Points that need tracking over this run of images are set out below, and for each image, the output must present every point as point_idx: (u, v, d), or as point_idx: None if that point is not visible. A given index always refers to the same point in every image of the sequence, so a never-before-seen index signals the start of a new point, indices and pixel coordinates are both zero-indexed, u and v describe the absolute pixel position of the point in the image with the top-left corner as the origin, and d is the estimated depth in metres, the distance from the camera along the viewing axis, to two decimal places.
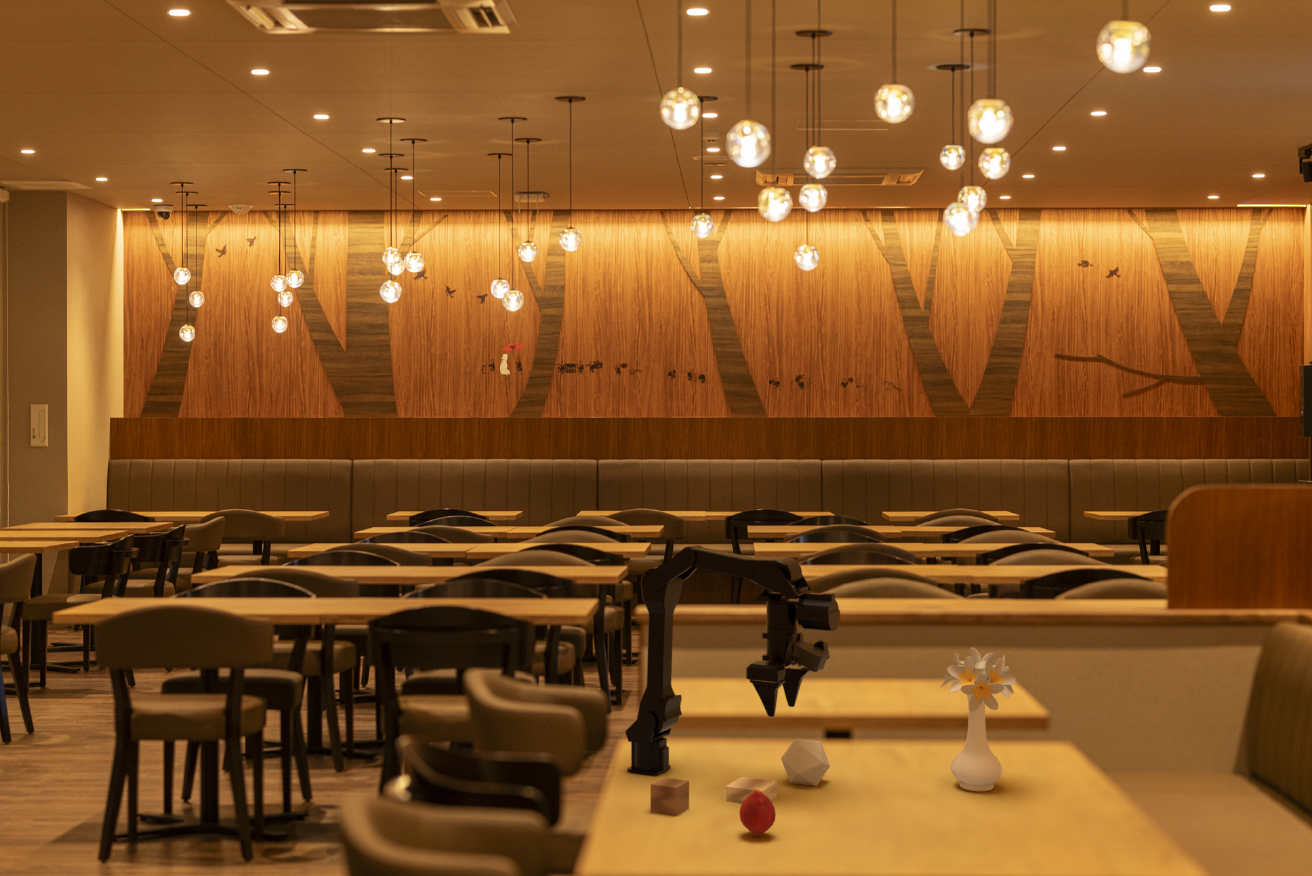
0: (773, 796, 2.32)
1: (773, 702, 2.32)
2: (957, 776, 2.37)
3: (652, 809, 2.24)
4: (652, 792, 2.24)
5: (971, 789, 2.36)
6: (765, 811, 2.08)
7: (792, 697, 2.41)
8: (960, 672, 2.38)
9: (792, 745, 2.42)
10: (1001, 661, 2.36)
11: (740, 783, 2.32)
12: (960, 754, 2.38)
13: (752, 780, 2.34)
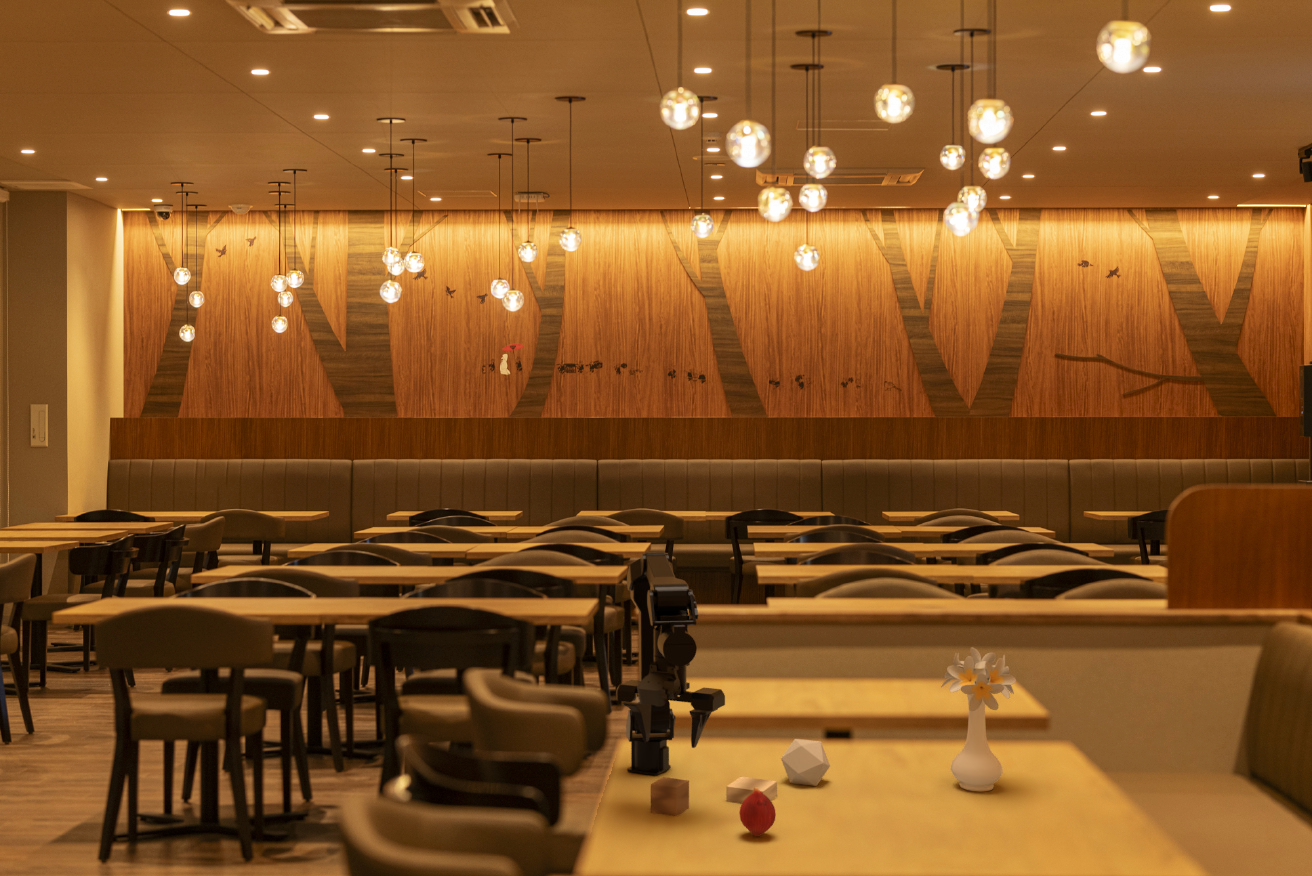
0: (773, 796, 2.32)
1: (640, 725, 2.26)
2: (957, 776, 2.37)
3: (652, 809, 2.24)
4: (652, 792, 2.24)
5: (971, 789, 2.36)
6: (765, 811, 2.08)
7: None
8: (960, 672, 2.38)
9: (792, 745, 2.42)
10: (1001, 661, 2.36)
11: (740, 783, 2.32)
12: (960, 754, 2.38)
13: (751, 780, 2.34)
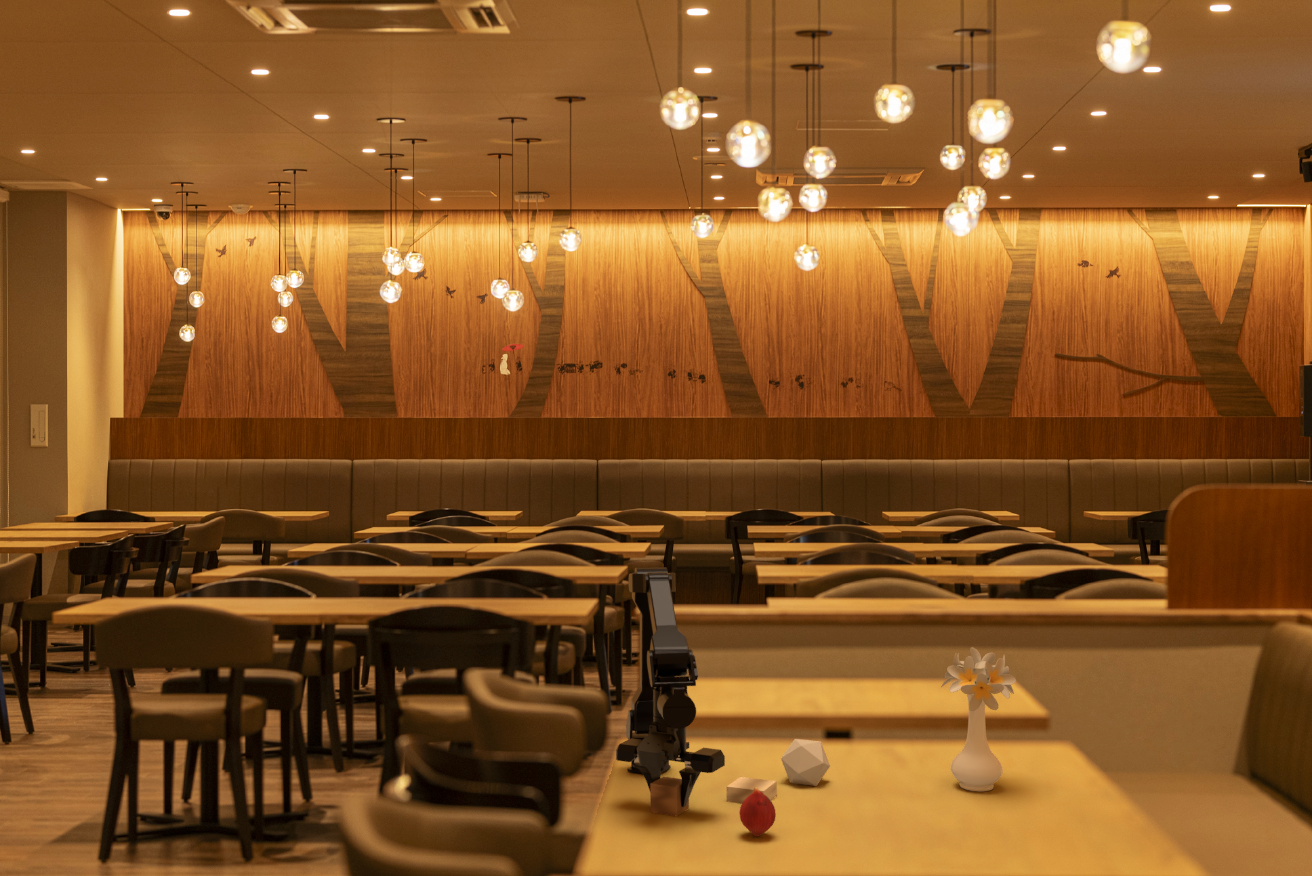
0: (773, 796, 2.32)
1: (649, 786, 2.26)
2: (957, 776, 2.37)
3: (652, 808, 2.24)
4: (652, 791, 2.24)
5: (971, 789, 2.36)
6: (765, 811, 2.08)
7: None
8: (960, 672, 2.38)
9: (792, 745, 2.42)
10: (1001, 661, 2.36)
11: (740, 783, 2.32)
12: (960, 754, 2.38)
13: (751, 780, 2.34)
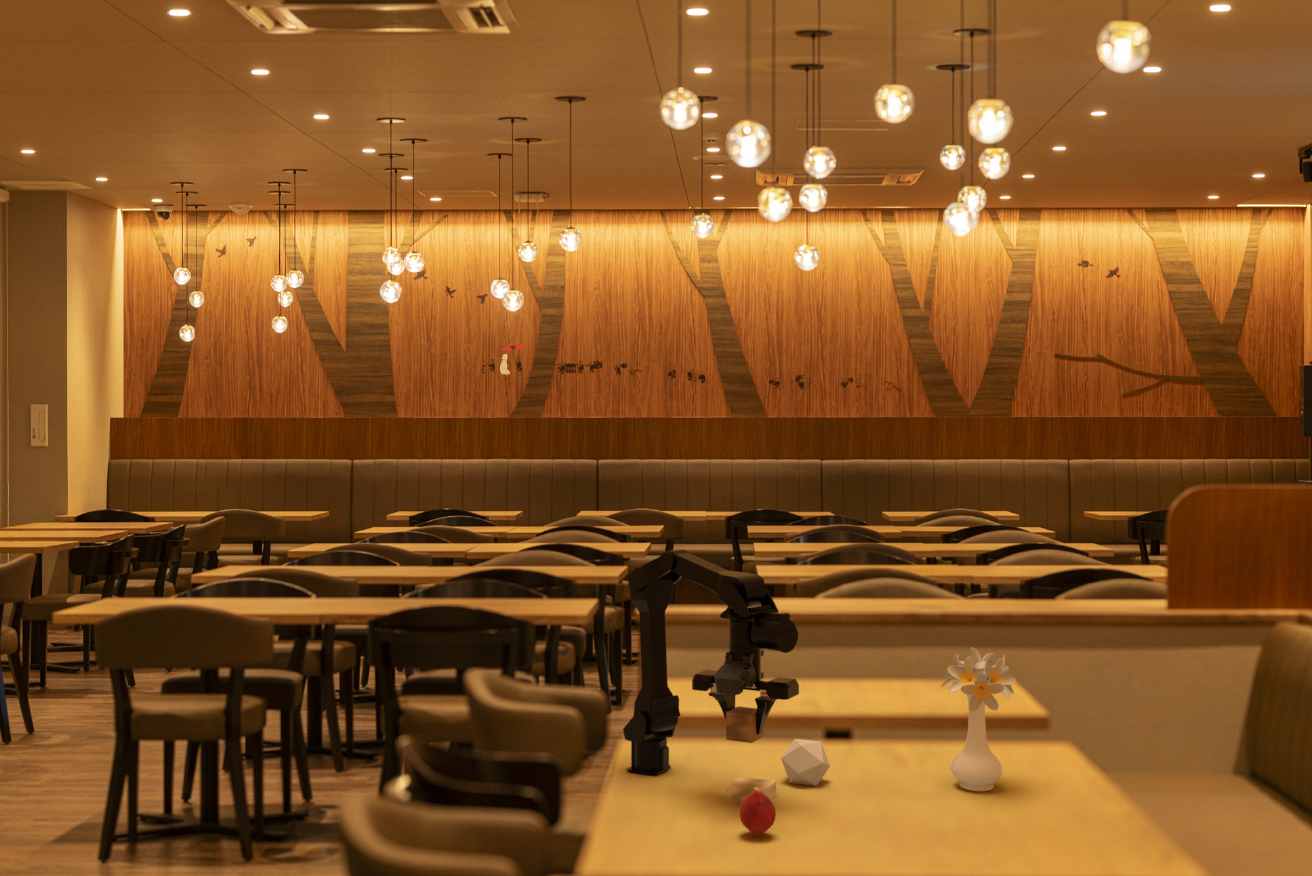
0: (773, 796, 2.32)
1: (725, 715, 2.32)
2: (957, 776, 2.37)
3: (728, 736, 2.30)
4: (728, 719, 2.30)
5: (971, 789, 2.36)
6: (765, 811, 2.08)
7: None
8: (960, 672, 2.38)
9: (792, 745, 2.42)
10: (1001, 661, 2.36)
11: (740, 784, 2.32)
12: (960, 754, 2.38)
13: (751, 780, 2.34)
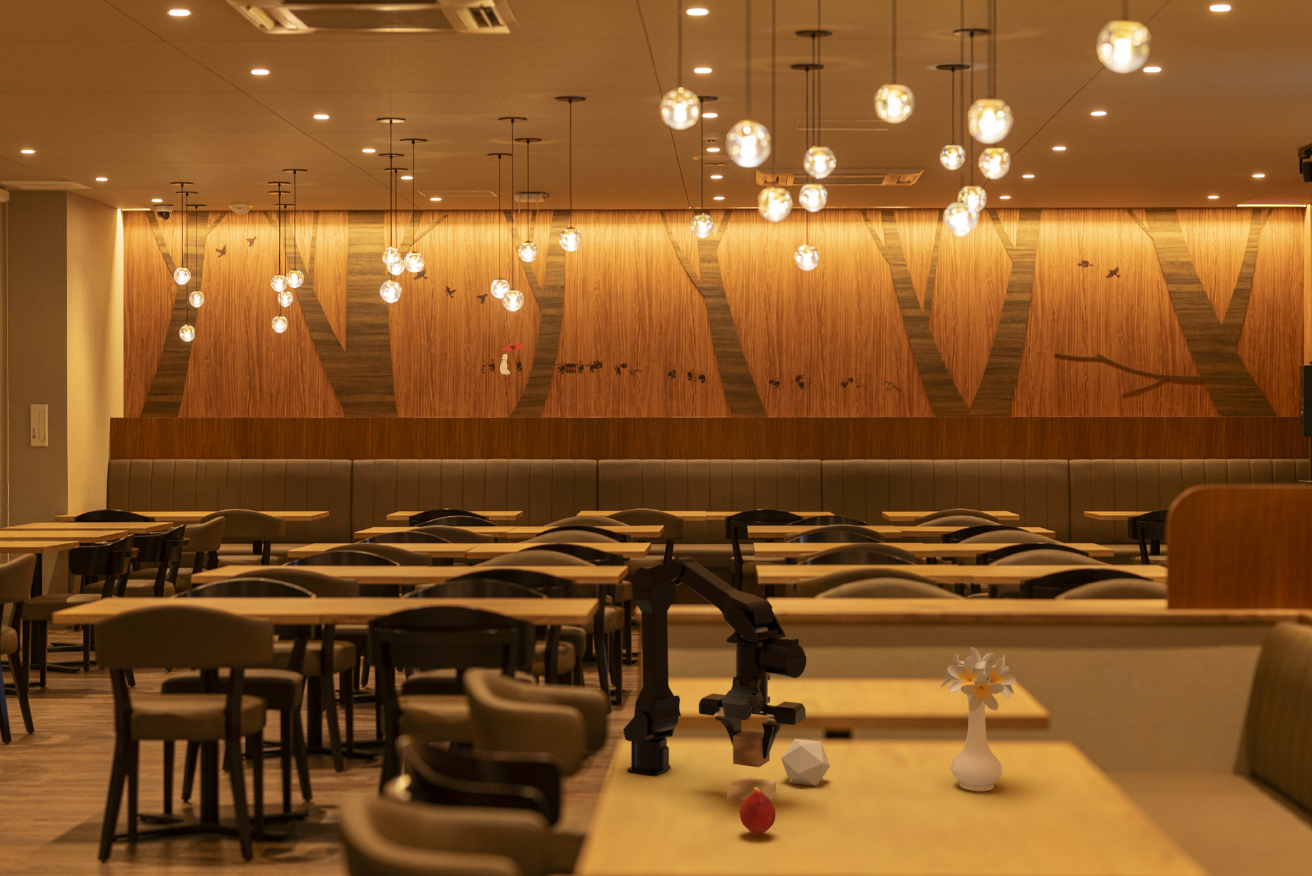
0: (773, 796, 2.32)
1: (731, 739, 2.33)
2: (957, 776, 2.37)
3: (734, 760, 2.31)
4: (735, 744, 2.30)
5: (971, 789, 2.36)
6: (765, 811, 2.08)
7: None
8: (960, 672, 2.38)
9: (792, 745, 2.42)
10: (1001, 661, 2.36)
11: (740, 784, 2.32)
12: (960, 754, 2.38)
13: (750, 780, 2.34)
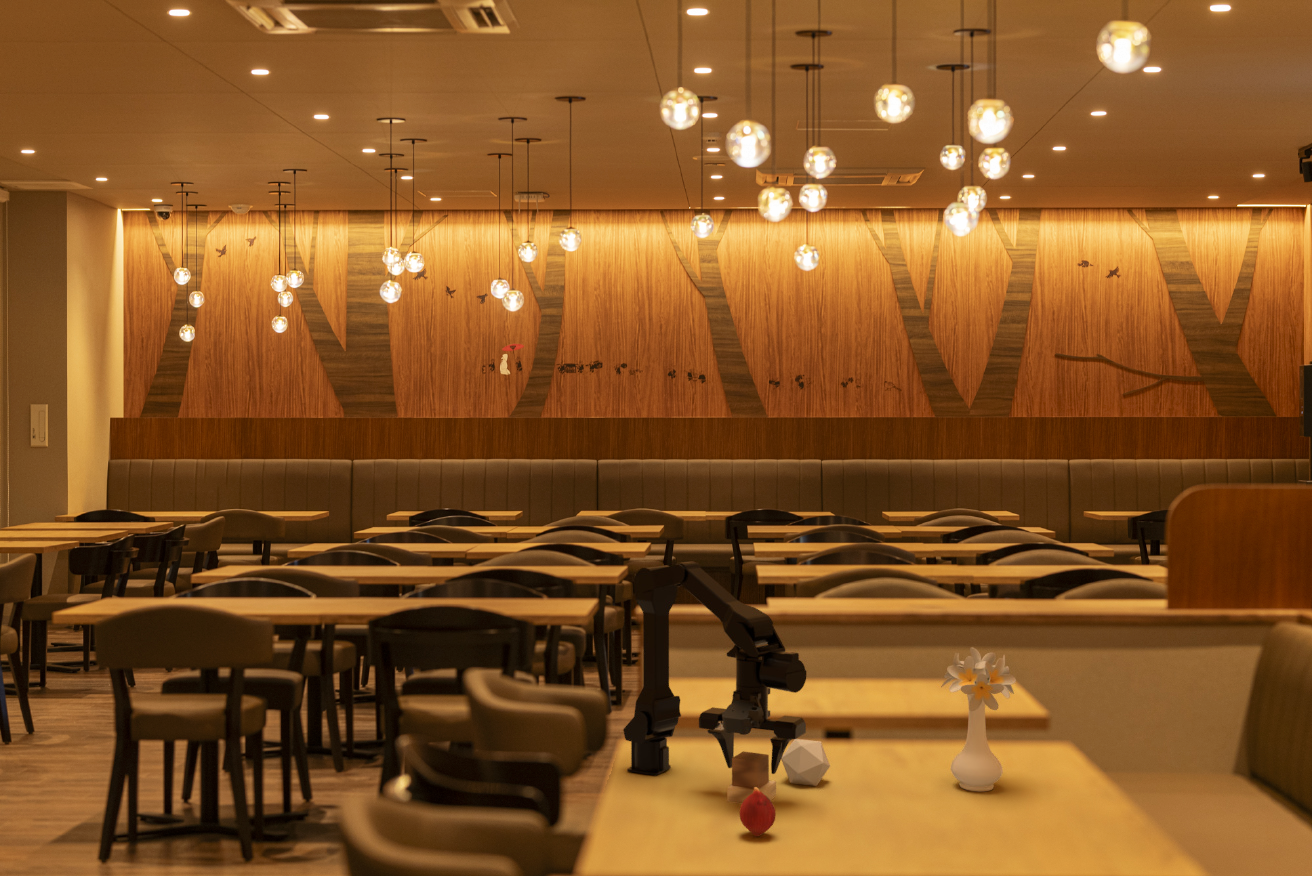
0: (773, 796, 2.32)
1: (724, 752, 2.33)
2: (957, 776, 2.37)
3: (733, 782, 2.31)
4: (733, 766, 2.31)
5: (971, 789, 2.36)
6: (765, 811, 2.08)
7: None
8: (960, 672, 2.38)
9: (792, 745, 2.42)
10: (1001, 661, 2.36)
11: None
12: (960, 754, 2.38)
13: None
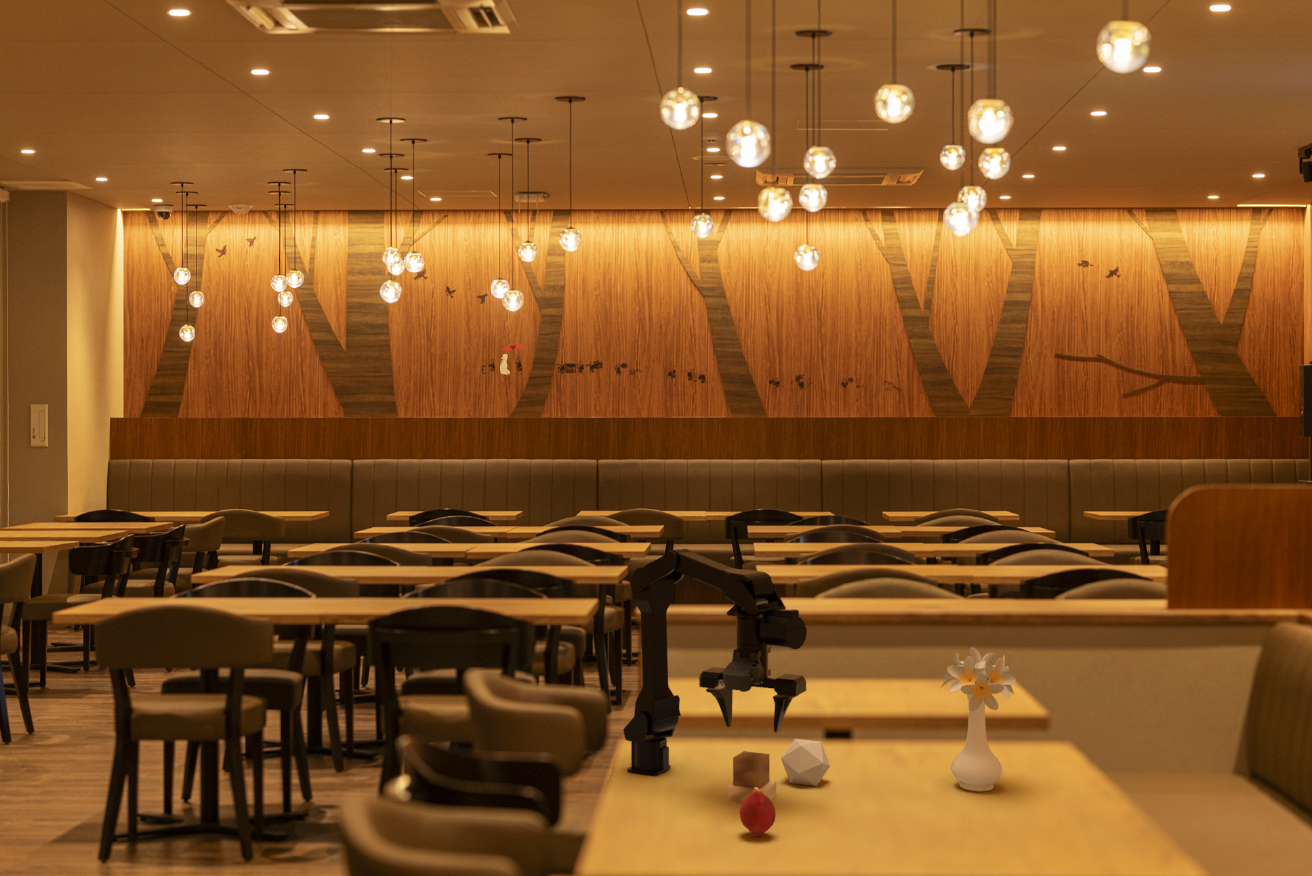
0: (773, 796, 2.32)
1: (722, 711, 2.33)
2: (957, 776, 2.37)
3: (735, 782, 2.31)
4: (734, 765, 2.31)
5: (971, 789, 2.36)
6: (765, 811, 2.08)
7: None
8: (960, 672, 2.38)
9: (792, 745, 2.42)
10: (1001, 661, 2.36)
11: None
12: (960, 754, 2.38)
13: None
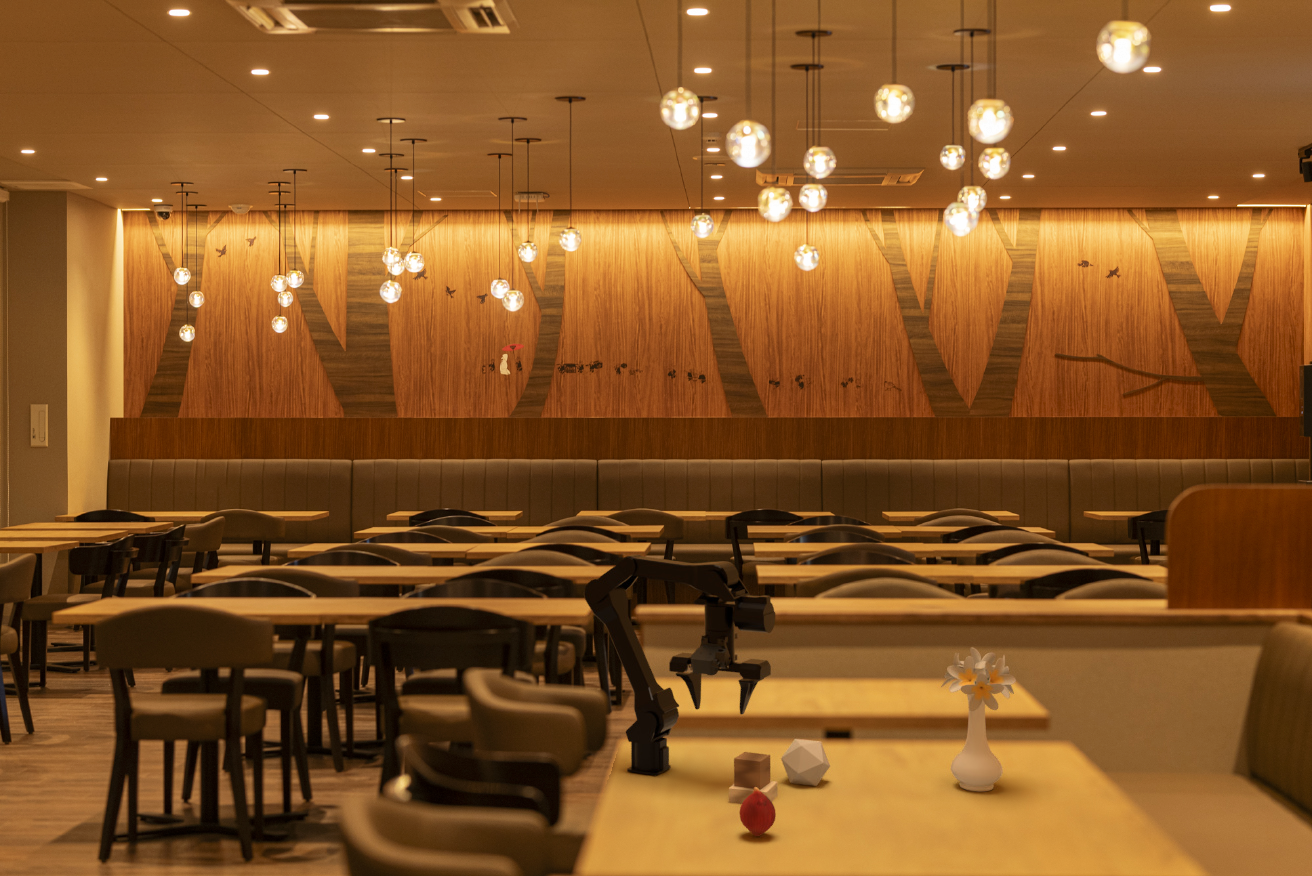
0: (774, 797, 2.32)
1: (691, 694, 2.45)
2: (957, 776, 2.37)
3: (736, 782, 2.31)
4: (735, 766, 2.30)
5: (971, 789, 2.36)
6: (765, 811, 2.08)
7: None
8: (960, 672, 2.38)
9: (792, 745, 2.42)
10: (1001, 661, 2.36)
11: None
12: (960, 754, 2.38)
13: None
